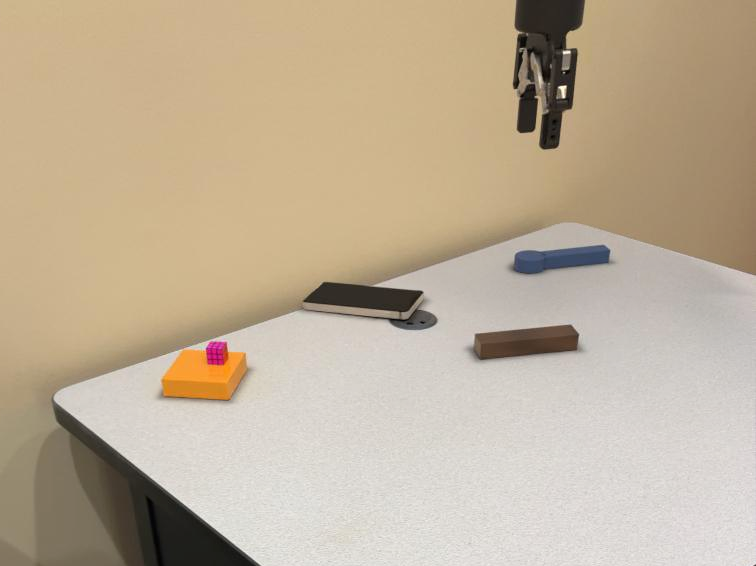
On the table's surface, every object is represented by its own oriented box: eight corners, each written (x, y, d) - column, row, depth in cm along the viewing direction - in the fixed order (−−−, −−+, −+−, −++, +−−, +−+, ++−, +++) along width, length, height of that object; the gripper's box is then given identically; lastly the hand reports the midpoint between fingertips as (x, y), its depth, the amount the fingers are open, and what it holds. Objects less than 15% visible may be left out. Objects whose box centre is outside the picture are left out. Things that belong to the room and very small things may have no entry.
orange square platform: (228, 400, 103) (224, 366, 100) (163, 396, 104) (157, 362, 102) (247, 369, 109) (244, 336, 106) (185, 366, 110) (180, 333, 107)
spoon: (599, 254, 132) (601, 242, 130) (611, 264, 128) (613, 252, 127) (509, 264, 131) (510, 251, 129) (519, 274, 127) (520, 262, 126)
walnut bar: (568, 339, 110) (571, 324, 109) (577, 349, 108) (579, 334, 107) (473, 349, 110) (474, 333, 108) (479, 359, 107) (481, 343, 106)
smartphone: (323, 280, 127) (425, 290, 122) (323, 289, 127) (424, 298, 122) (301, 302, 121) (406, 312, 116) (301, 310, 122) (406, 321, 117)
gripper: (610, -18, 93) (588, 151, 103) (563, -30, 104) (547, 124, 114) (540, -11, 92) (525, 158, 103) (500, -25, 103) (489, 129, 114)
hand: (536, 140), depth 109 cm, fingers open, 8 cm apart
